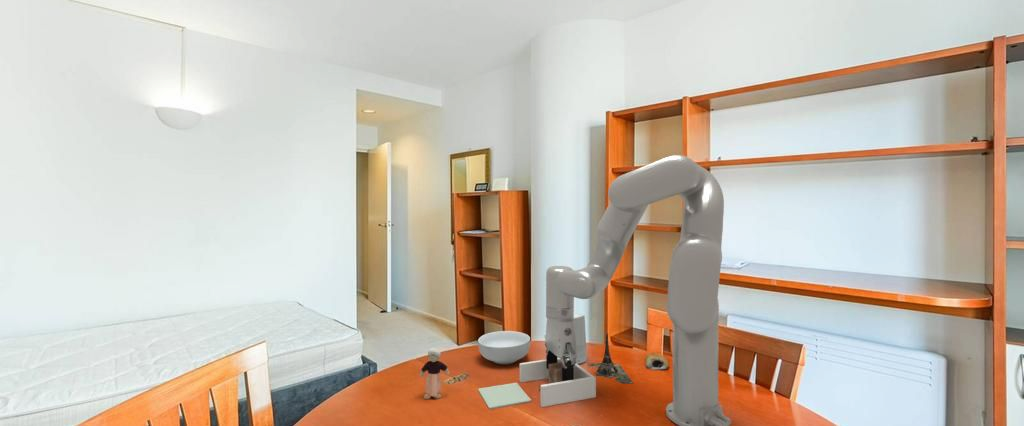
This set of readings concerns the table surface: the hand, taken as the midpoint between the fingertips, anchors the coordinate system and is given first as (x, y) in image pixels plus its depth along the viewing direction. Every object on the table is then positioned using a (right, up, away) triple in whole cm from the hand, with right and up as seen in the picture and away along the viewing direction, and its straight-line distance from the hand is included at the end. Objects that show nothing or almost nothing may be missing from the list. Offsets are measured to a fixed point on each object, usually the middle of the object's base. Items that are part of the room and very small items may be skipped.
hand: (559, 374), depth 109 cm
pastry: (+32, -4, +15) cm, 35 cm away
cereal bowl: (-15, -4, +21) cm, 26 cm away
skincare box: (+6, -4, +20) cm, 21 cm away
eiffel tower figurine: (+16, -4, +9) cm, 19 cm away
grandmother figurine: (-33, -4, -4) cm, 34 cm away
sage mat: (-15, -4, -5) cm, 16 cm away
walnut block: (0, -4, 0) cm, 4 cm away
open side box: (-1, -4, -1) cm, 4 cm away
